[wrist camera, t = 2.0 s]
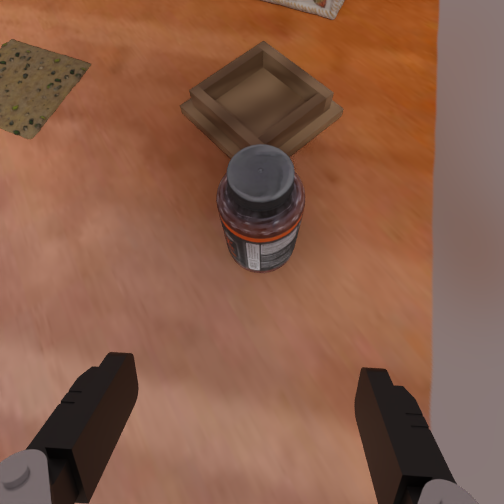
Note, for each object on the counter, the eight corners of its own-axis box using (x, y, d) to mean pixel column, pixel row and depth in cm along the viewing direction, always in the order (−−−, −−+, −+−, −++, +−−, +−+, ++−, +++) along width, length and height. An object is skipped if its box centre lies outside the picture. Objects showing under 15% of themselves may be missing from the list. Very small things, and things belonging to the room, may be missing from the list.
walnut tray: (182, 112, 35) (174, 89, 32) (264, 57, 38) (264, 31, 35) (256, 182, 32) (256, 163, 29) (341, 116, 34) (348, 93, 32)
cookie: (95, 65, 39) (91, 58, 38) (34, 143, 35) (28, 137, 34) (14, 41, 41) (8, 33, 40) (-53, 112, 37) (-60, 105, 36)
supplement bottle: (221, 223, 30) (199, 140, 20) (283, 207, 31) (293, 118, 20) (237, 283, 28) (221, 226, 18) (303, 265, 29) (326, 200, 18)
